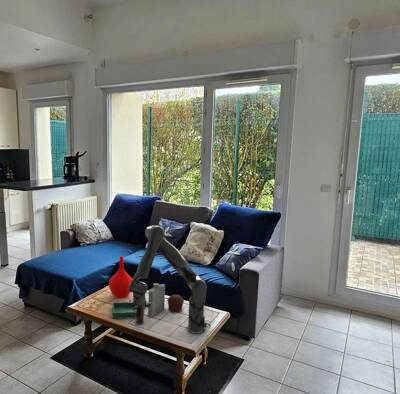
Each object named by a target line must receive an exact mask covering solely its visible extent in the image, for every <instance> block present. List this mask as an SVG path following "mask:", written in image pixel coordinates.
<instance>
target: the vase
mask: <svg viewBox="0 0 400 394" xmlns="http://www.w3.org/2000/svg"><path fill="white" fill-rule="evenodd" d="M118 267H119V268H118V269H117V271H116V272H115V274H113V275H112V276H111V277H110V278H109V280H108V288H109V291H110V293H111V294H112V295H113V296H114V297H115V298H119V299H123V298H127V297H128V296H130V294H131V293H132V292H130V291H129V284H130V282H131V281H132V279H133V277H131V276H130V275H129V274H128V273H127V271H126V270H125V268H124V256H123V255H120V256H119V265H118Z"/></svg>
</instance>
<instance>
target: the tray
mask: <svg viewBox="0 0 400 394" xmlns="http://www.w3.org/2000/svg"><path fill="white" fill-rule="evenodd" d="M112 317H113V319H129V318H136V309H135V308H134V307H131V306H130V305H129V301H123V302H122V301H121V302H120V301H119V302H112Z"/></svg>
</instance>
